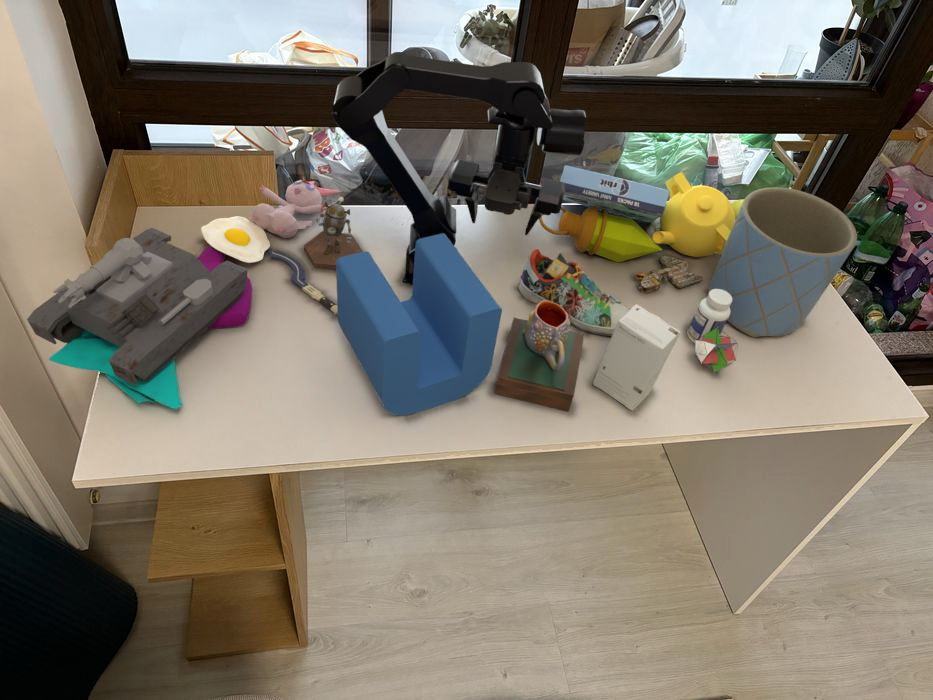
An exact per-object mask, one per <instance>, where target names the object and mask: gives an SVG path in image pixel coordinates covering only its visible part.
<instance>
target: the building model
mask: <svg viewBox="0 0 933 700" xmlns="http://www.w3.org/2000/svg"><path fill="white" fill-rule="evenodd" d="M659 263H660V264H662V266H661V267H662V269H659V270H657V271H656V270H655V269H652V270H650V271H649V273H647V272H646V271H640V272H637V273H636V274H635V276H634V279H635V280H638V281H641V282H640V283H639V287H638V290H639V291H640V292H641V293H644V294H646V293H651V292H654V291H658V290H659V289H660V286H661V285H662V282H665V281H670V282H671V283H672V284H673V285H675V286H676V287H677V288H679V289H683V288H684V287H688V286H689V285H692V284H696V283H699V282H702V281H703V279H704V276H702V275H701V274H696V273H695V272H691V271H690V272H687V270H688V267H689V264H690V261H688V260H683V259H679V258H677V257H675V256H670V255H669V256H667V255H661V256H659ZM661 281H662V282H661Z"/></svg>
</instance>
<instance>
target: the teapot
mask: <svg viewBox="0 0 933 700" xmlns="http://www.w3.org/2000/svg"><path fill="white" fill-rule="evenodd" d="M664 183H665V185H666V188H667V189H666V190H669V191H670V192H669V199H670V198H671V199H670V200H667V203H666V206H665V210H664V213H663V216H661V217H659V219H660V220H659V226H660V227H659V228H660V230H659V231H655V232H654V233H653V234H652V240H653V241H654V242H655V243H656V244H657V245H659V244H660V245H662V244H663V245H664V244H665V245H669V246H670V247H671V248H672V249H673V250H675V251H676V252H678V253H680V254H682V255H684V256H688V257H696V258H699V257H707V256H711V255H713V254H717V255H719V256H721V255H722V252H723V250H724V247H725V245H726V242H727V240H728V237H729V235H730V232H731V230H732V227H733V225H734V223H735V213H734V210H733V207H732V205H731V203H732V202H731V201H730V200H729V198H728V197H727V196H726V194H724V193H723V192H721V191H720V190H718V189H717V188H715V187H713V186H708V185H691V184H690V181H688V179H687V177H686V176H685V174H684V172H683V171H680V172H679V173H677V174H675V175H673V176H672V177H670V178H668V180H666V181H665V182H664Z"/></svg>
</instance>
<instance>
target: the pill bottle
mask: <svg viewBox="0 0 933 700" xmlns="http://www.w3.org/2000/svg"><path fill="white" fill-rule="evenodd" d="M731 302H732V296H731V295H730V294H729V293H728V292H726V291H724V290H722V289H713V290H711V291H710V292H709V294H708V293H707V296H706V297H705V298H702V299H701V300H700V302H699V304H698V306H697V308H696V310H695V311H694V314H693V317H692V319H691V320H690V324H689V326H688V328H687V330H686V331H687V332H686V333H687V337H688V339H689V340H690V341H691V342H692V343H694V344H695V340H696V339H697V340H702V339H705V337H703V335H705V334H707V333H709V332H710V331H712V330H714V329H715V328H717V327H718V331H719V334H720V335H721V334H722V331H723V330H724V328H725V326H726V324H727V322H728V321H727V320H728V318H729V316H730V313H731V310H730V305H731ZM721 330H722V331H721ZM700 337H701V338H700ZM698 338H699V339H698Z"/></svg>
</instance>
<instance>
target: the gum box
mask: <svg viewBox="0 0 933 700" xmlns="http://www.w3.org/2000/svg"><path fill="white" fill-rule="evenodd" d="M559 181H560V182H564V184H565V186H566V188H565V193H564V197H563V201H566V202H569V203H572V204H575V205H576V204H577V205H580V206H584V207H587V208H589V207H593V206H596V207H597V208H598V210H601V209H606V210H607V212H610V213H612V214H617V215H621V216H623V217H627V218H631V219H635V220H636V219H637V220H640V221H644V222H648V223H653V222H655V221H657V220H658V219H660V218H661V216H663V213H664V210H665V206H666V204H667V202H668V199H669V197H670V195H669V192H670V191H669V190H668V189H666V188H663V187H658V186H655V185H650V184H646V183H642V182H639V181H634V180H629V179H625V178H621V177H617V176H612V175H608V174H605V173H601V172H597V171H593V170H588V169H583V168H580V167H576V166H571V165H567V164H566V165H564V167H563V170H562V173H561V176H560V180H559Z"/></svg>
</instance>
